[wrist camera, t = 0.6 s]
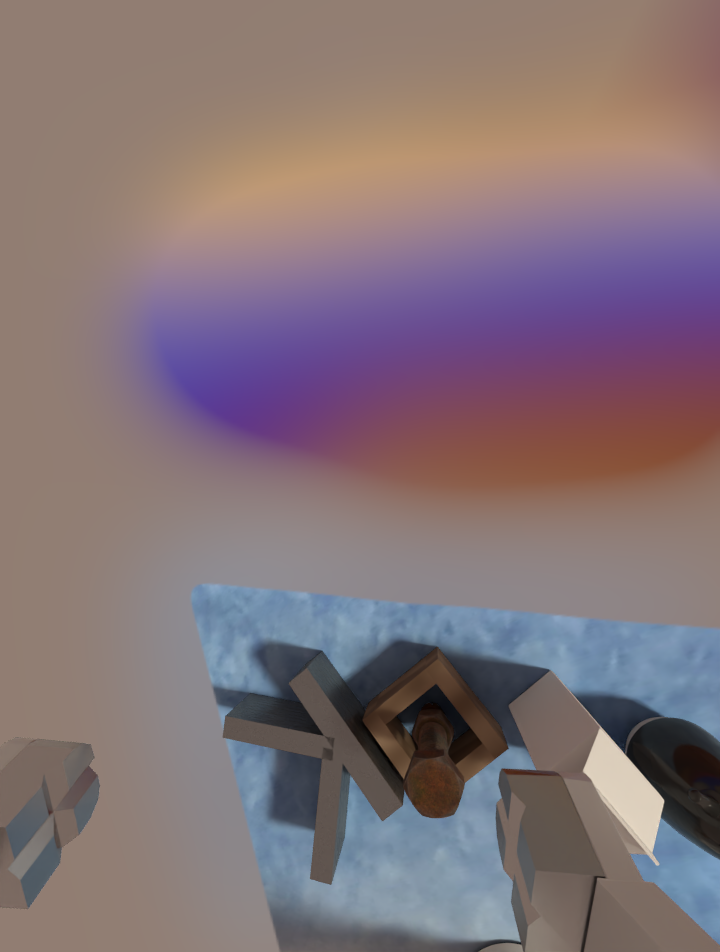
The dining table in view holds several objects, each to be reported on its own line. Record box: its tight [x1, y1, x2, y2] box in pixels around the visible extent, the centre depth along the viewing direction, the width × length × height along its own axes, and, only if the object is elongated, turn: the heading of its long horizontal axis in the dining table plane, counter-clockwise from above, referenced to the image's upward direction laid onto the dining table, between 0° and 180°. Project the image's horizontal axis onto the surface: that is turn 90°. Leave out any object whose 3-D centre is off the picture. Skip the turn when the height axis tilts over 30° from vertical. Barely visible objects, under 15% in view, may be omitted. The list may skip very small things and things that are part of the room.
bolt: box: [403, 702, 465, 818], centre depth 44 cm, size 6×5×15 cm
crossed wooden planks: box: [223, 651, 404, 885], centre depth 50 cm, size 22×14×7 cm, turn 39°
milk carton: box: [508, 670, 664, 865], centre depth 40 cm, size 7×7×19 cm
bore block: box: [362, 647, 508, 782], centre depth 49 cm, size 12×12×5 cm
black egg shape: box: [625, 717, 720, 860], centre depth 39 cm, size 10×10×15 cm
